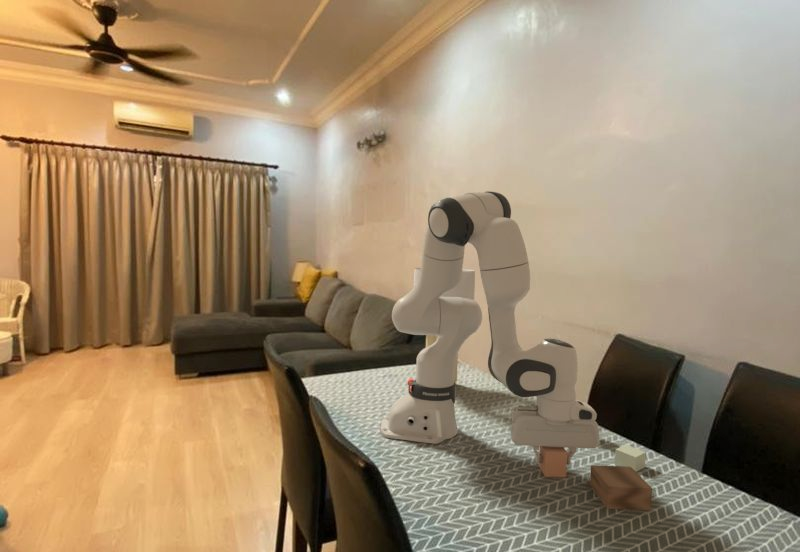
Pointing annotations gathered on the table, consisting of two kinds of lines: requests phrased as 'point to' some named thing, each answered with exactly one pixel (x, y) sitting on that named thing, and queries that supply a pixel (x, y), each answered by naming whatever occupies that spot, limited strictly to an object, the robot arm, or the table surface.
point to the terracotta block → (553, 461)
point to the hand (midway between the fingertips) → (552, 462)
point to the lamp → (460, 290)
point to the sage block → (630, 457)
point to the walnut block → (620, 487)
